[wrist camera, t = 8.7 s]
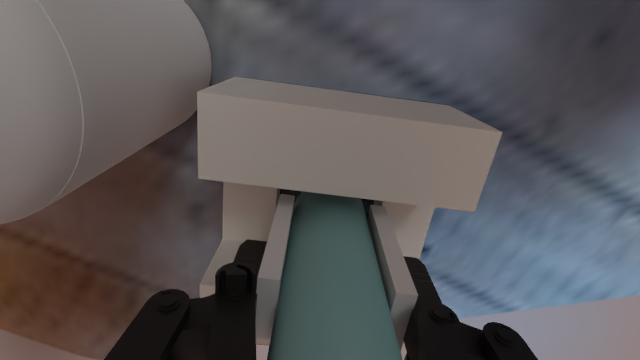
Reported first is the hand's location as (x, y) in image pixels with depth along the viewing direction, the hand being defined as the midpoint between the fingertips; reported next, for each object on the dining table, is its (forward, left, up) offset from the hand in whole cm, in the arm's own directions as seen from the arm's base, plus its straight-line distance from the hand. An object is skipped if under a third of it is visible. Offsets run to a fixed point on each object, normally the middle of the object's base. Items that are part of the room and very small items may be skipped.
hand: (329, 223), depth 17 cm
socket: (0, 0, -4) cm, 4 cm away
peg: (0, 0, -1) cm, 1 cm away
